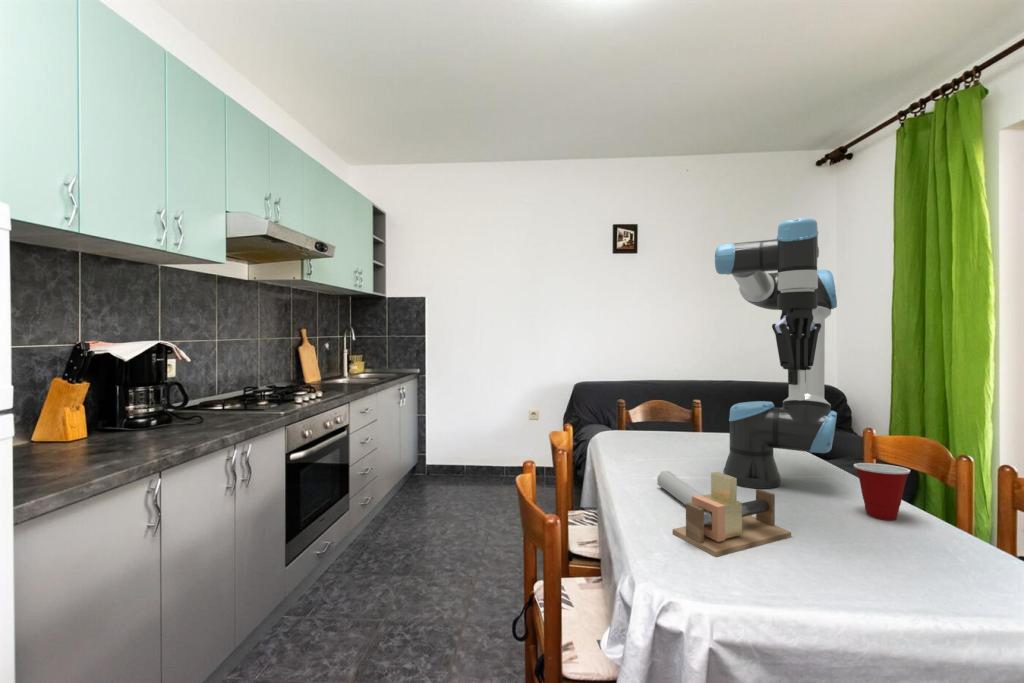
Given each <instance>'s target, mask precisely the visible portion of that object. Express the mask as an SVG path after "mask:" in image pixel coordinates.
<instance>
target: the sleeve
mask: <svg viewBox="0 0 1024 683" xmlns="http://www.w3.org/2000/svg"><path fill="white" fill-rule="evenodd" d="M737 486H738V485H737V478H735V477H732V476H729V475H726V474H723V472H719V471H715V472H710V488H711V489H710V493H708V494H703V495H702V496H703V497H705V498H708V499H710V500H713V501H715V502H718V503H720V504H722V505H725V539H726V538H730V537H734V536H738V535H742V503H743V502H741V501H739V500H737V496H738V495H737V494H738V493H737ZM704 510H706V509H704ZM710 526H712V525H710Z"/></svg>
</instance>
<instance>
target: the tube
mask: <svg viewBox="0 0 1024 683" xmlns="http://www.w3.org/2000/svg"><path fill="white" fill-rule="evenodd" d="M656 481H657V485H658V486H659V487H660V488H661V489H664V490H666V491H667V492H668V493H669V494H671V495H672V496H673V497H674V498H675V499H677V500H678V501H680V502H681V503H682V504H683V505H684V506H686V503H691V504H692V496H695V495H700V496H702V495H704V494H703V493H702V492H700V491H699V490H697V489H696V488H694V487H692V486H691V485H689V484H688V483H686V482H685V481H684V480H682V479H680V478H679V477H678V476H676V475H675V474H674V473H672V472H671V471H669V470H662V471H660V473H659V475H658V476H657V480H656Z"/></svg>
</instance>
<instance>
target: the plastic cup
mask: <svg viewBox="0 0 1024 683" xmlns="http://www.w3.org/2000/svg"><path fill="white" fill-rule="evenodd" d="M853 468H854V469H855V471H856V473H857V477H858V479H859V484H860V490H861V495H862V499H863V503H864V504H863V505H864V508H865V512H866V514H867V515H868V516H869V517H871V518H875V519H877V520H882V521H896V520H897V518H898V515H899V511H900V506H901V504H902V499H903V495H904V494H903V493H904V490H905V485H906V482H907V479H908V476H909V475H910V473H911V469H909V468H906V467H903V466H897V465H893V464H892V465H891V464H885V463H871V462H858V463H854V464H853Z"/></svg>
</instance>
